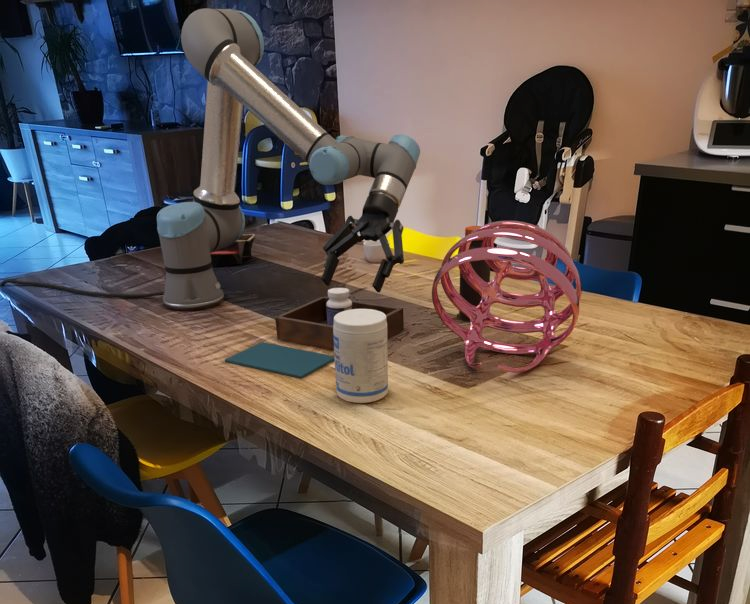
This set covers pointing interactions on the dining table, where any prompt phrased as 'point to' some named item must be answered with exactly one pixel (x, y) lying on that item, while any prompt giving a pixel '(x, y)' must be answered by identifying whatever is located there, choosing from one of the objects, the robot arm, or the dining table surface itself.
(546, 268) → the spiral basket
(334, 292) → the pill bottle
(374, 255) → the teacup
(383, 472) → the dining table surface
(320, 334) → the wooden tray
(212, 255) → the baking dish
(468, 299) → the vinegar
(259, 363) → the mat
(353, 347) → the supplement tub
